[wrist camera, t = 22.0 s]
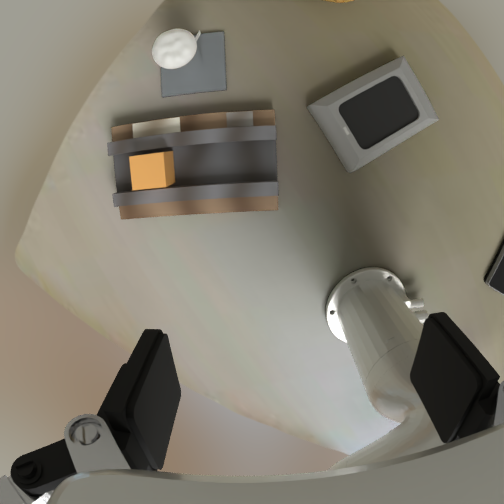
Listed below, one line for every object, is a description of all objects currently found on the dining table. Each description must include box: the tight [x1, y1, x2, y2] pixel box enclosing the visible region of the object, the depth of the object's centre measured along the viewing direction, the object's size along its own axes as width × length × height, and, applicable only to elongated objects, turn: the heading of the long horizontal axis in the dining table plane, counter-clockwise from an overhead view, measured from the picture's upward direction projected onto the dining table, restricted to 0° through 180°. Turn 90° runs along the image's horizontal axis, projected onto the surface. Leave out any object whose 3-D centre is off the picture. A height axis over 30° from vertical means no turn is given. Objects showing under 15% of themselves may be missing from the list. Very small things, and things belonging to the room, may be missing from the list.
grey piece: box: [107, 110, 279, 219], centre depth 36 cm, size 20×12×4 cm, turn 93°
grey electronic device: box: [307, 56, 439, 173], centre depth 33 cm, size 10×4×15 cm
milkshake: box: [152, 28, 203, 78], centre depth 28 cm, size 4×5×10 cm
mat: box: [161, 32, 227, 97], centre depth 33 cm, size 8×8×1 cm
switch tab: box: [129, 151, 175, 190], centre depth 34 cm, size 4×4×4 cm
